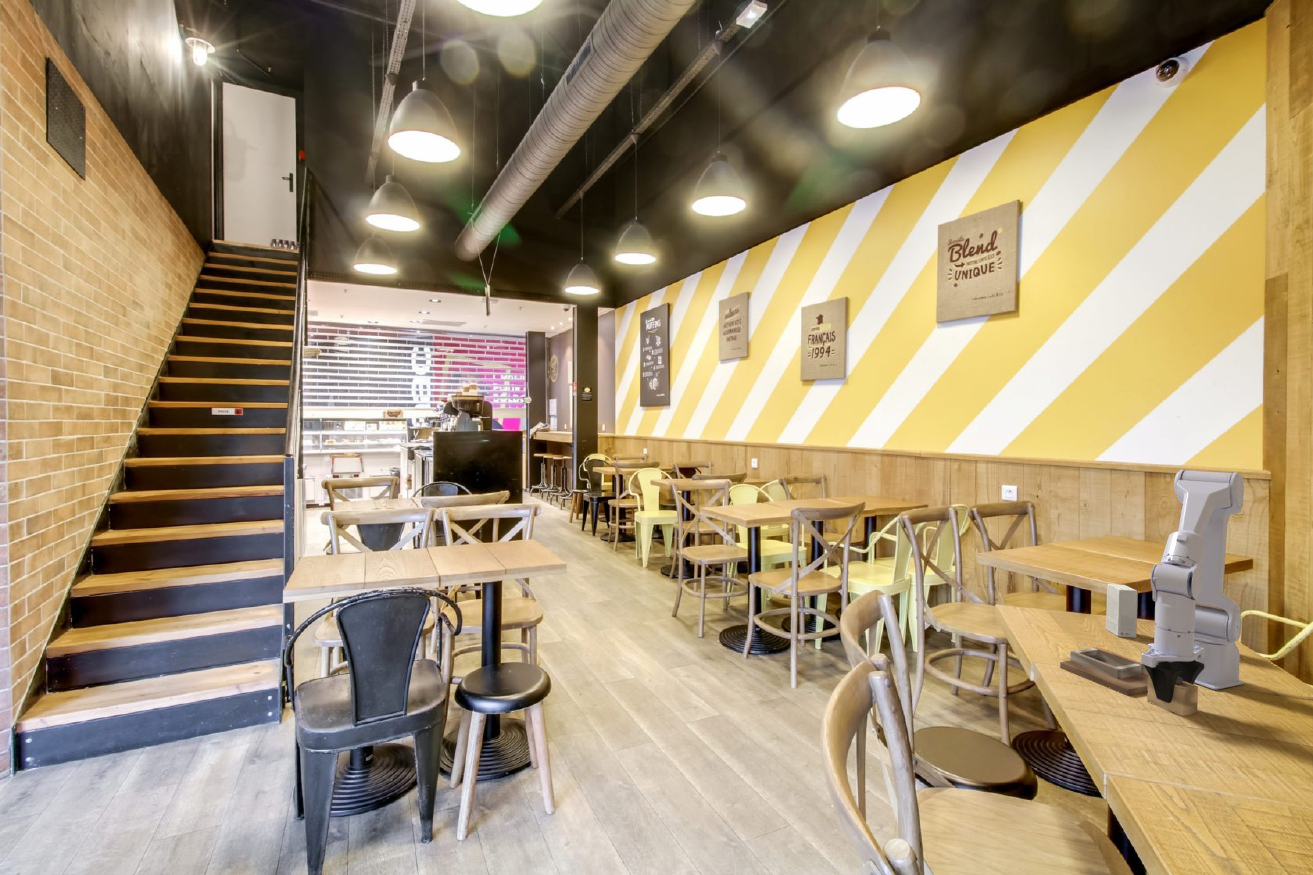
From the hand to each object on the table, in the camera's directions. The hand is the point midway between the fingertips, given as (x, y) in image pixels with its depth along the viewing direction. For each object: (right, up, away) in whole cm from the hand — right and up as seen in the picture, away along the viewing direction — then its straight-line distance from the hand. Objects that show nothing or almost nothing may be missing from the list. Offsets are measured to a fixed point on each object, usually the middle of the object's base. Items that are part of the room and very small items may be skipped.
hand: (1172, 698), depth 114 cm
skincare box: (+21, -1, +39) cm, 45 cm away
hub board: (+1, -1, +14) cm, 14 cm away
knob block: (0, -2, 0) cm, 2 cm away
